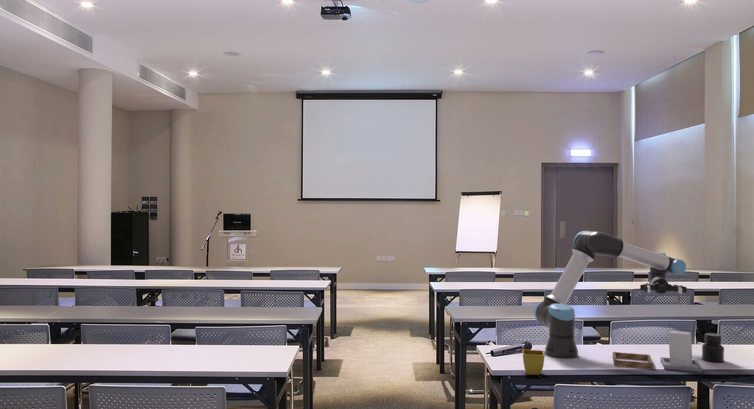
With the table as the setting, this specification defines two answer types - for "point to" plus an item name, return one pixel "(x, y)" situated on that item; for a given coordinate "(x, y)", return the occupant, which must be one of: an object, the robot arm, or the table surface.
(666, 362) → the tray
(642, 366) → the wooden tray
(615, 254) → the robot arm
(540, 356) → the flower pot
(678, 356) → the skincare box
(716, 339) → the ink bottle
